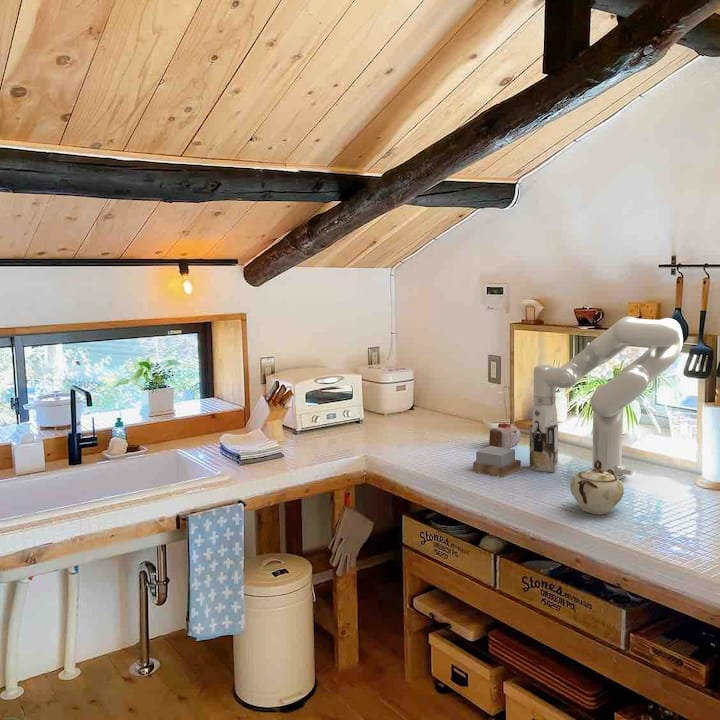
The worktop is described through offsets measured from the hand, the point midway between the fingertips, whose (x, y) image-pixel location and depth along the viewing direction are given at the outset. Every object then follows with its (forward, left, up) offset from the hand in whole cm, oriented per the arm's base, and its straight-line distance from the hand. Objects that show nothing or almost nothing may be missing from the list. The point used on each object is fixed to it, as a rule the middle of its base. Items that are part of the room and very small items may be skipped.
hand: (543, 449), depth 252 cm
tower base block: (+12, +12, -8) cm, 19 cm away
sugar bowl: (-33, +28, -8) cm, 44 cm away
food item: (+28, -19, -8) cm, 35 cm away
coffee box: (0, 0, -8) cm, 8 cm away
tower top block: (+12, +12, -4) cm, 18 cm away
